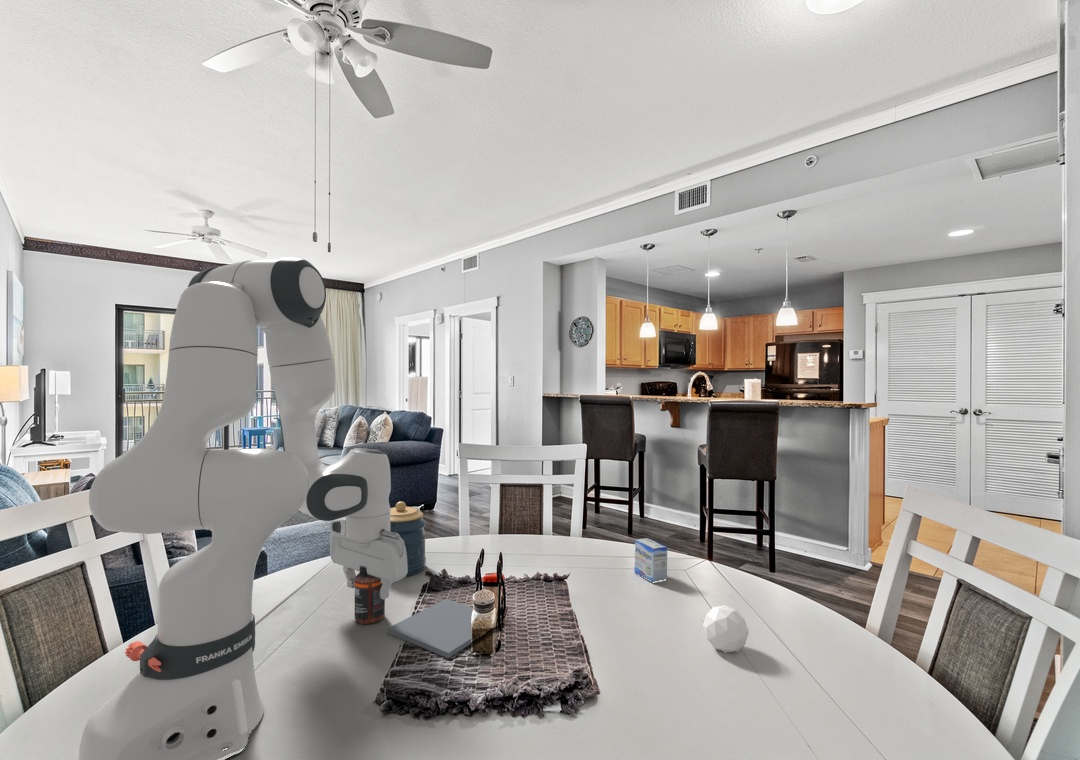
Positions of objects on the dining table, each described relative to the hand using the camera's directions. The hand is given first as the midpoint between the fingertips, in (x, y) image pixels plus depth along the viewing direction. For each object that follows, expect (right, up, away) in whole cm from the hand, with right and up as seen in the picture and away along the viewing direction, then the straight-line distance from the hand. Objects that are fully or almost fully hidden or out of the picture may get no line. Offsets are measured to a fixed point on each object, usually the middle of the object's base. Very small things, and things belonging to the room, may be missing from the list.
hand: (367, 592), depth 104 cm
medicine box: (+64, -6, +22) cm, 68 cm away
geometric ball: (+70, -6, -12) cm, 71 cm away
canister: (-1, -6, +26) cm, 27 cm away
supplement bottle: (+1, -5, -1) cm, 5 cm away
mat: (+17, -5, -5) cm, 19 cm away
